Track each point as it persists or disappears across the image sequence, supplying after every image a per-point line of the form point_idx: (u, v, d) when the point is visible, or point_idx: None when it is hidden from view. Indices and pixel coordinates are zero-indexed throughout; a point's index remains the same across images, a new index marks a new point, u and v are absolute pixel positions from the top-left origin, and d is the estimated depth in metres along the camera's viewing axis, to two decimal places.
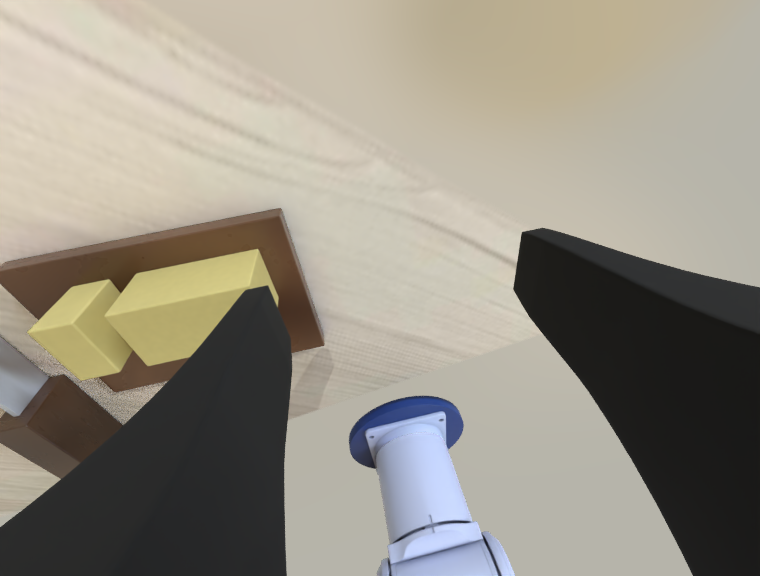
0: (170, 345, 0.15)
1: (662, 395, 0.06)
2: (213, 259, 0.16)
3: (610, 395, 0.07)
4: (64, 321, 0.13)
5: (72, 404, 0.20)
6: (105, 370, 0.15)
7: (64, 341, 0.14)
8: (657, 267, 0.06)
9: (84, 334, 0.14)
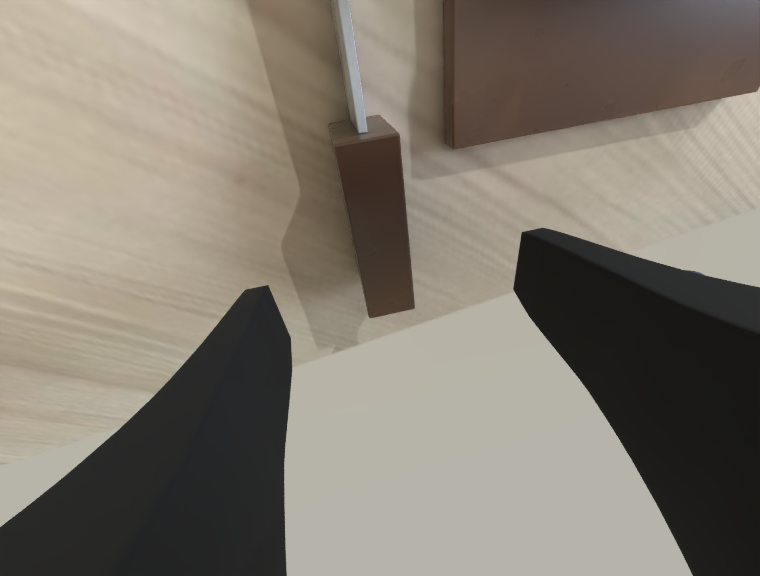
0: None
1: (662, 395, 0.06)
2: None
3: (610, 395, 0.07)
4: None
5: None
6: None
7: None
8: (657, 267, 0.06)
9: None
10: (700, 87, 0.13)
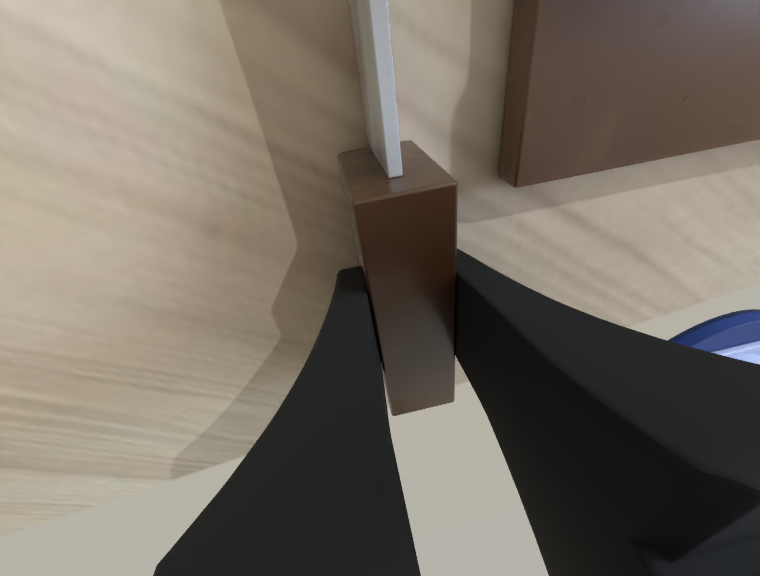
0: None
1: (526, 429, 0.06)
2: None
3: (499, 422, 0.07)
4: None
5: None
6: None
7: None
8: (530, 295, 0.06)
9: None
10: None
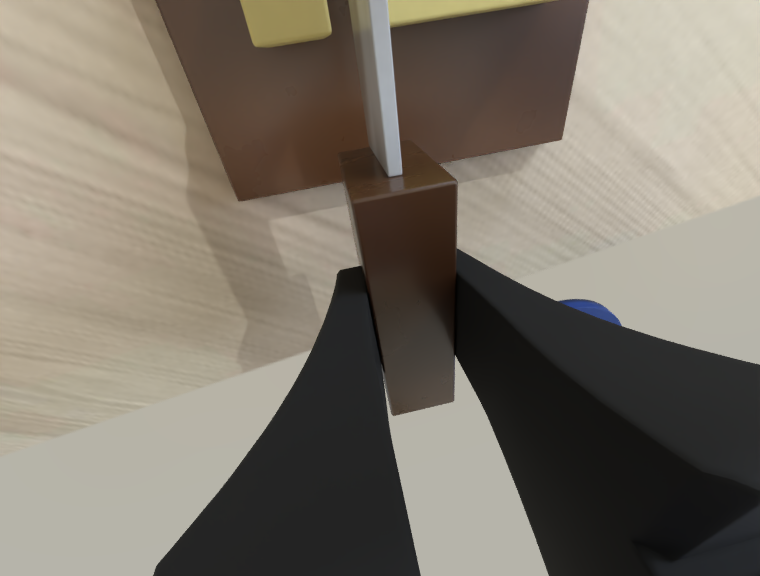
0: None
1: (526, 429, 0.06)
2: None
3: (499, 422, 0.07)
4: None
5: None
6: (308, 16, 0.07)
7: None
8: (530, 295, 0.06)
9: None
10: (495, 138, 0.13)
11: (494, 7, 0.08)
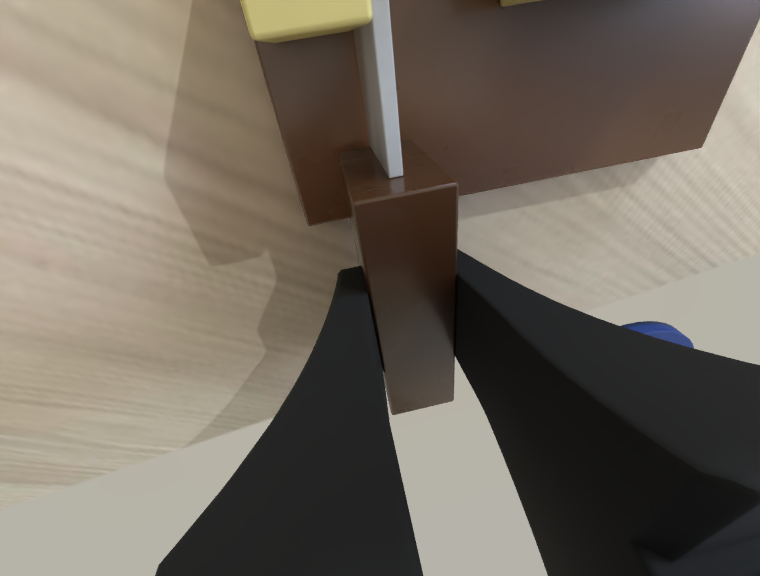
0: None
1: (525, 429, 0.06)
2: None
3: (498, 422, 0.07)
4: None
5: None
6: None
7: None
8: (529, 295, 0.06)
9: None
10: (626, 145, 0.10)
11: None
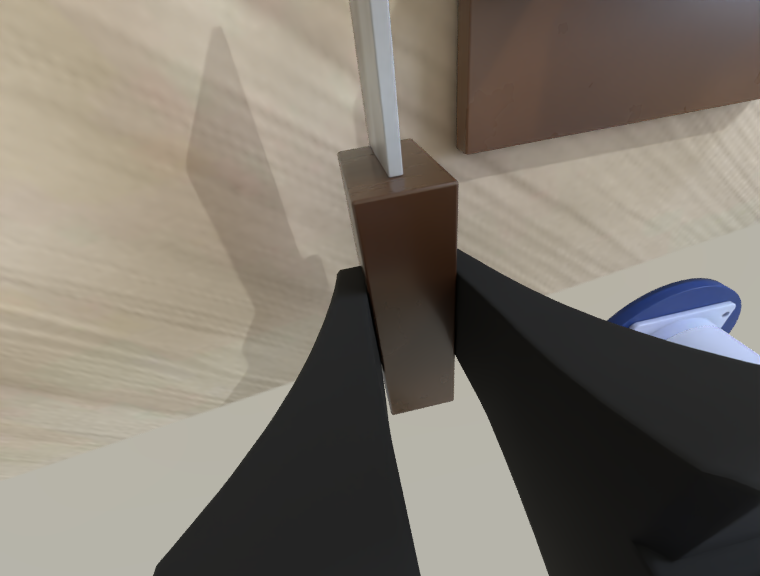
0: None
1: (526, 429, 0.06)
2: None
3: (499, 422, 0.07)
4: None
5: None
6: None
7: None
8: (530, 295, 0.06)
9: None
10: (732, 88, 0.12)
11: None
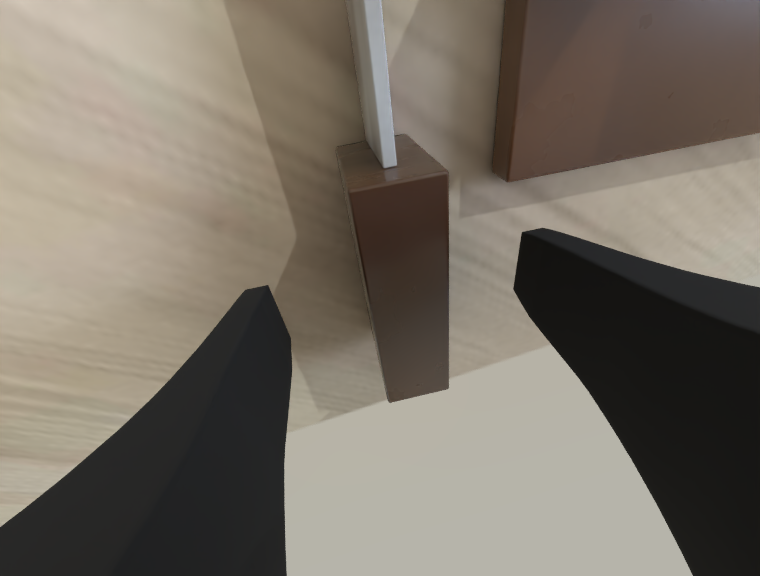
0: None
1: (662, 395, 0.06)
2: None
3: (610, 395, 0.07)
4: None
5: None
6: None
7: None
8: (657, 267, 0.06)
9: None
10: None
11: None
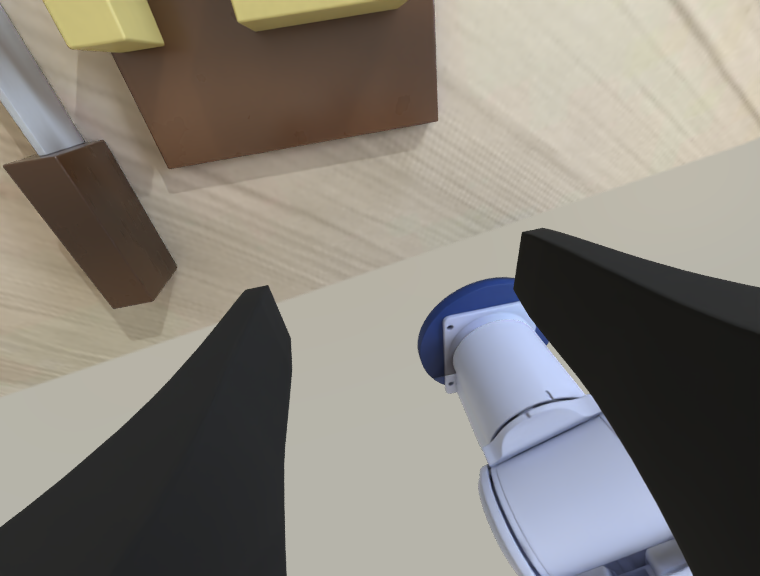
0: None
1: (662, 395, 0.06)
2: None
3: (610, 395, 0.07)
4: None
5: (112, 180, 0.15)
6: (104, 27, 0.10)
7: None
8: (657, 267, 0.06)
9: None
10: (379, 118, 0.15)
11: (319, 9, 0.11)
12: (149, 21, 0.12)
